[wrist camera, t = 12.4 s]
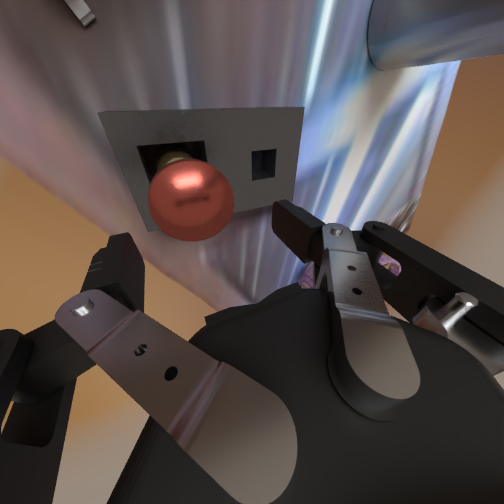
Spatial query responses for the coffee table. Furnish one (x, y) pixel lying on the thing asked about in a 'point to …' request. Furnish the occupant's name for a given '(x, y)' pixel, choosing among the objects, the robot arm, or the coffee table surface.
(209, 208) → the knob
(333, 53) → the coffee table surface
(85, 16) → the caliper
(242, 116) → the panel
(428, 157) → the coffee table surface
